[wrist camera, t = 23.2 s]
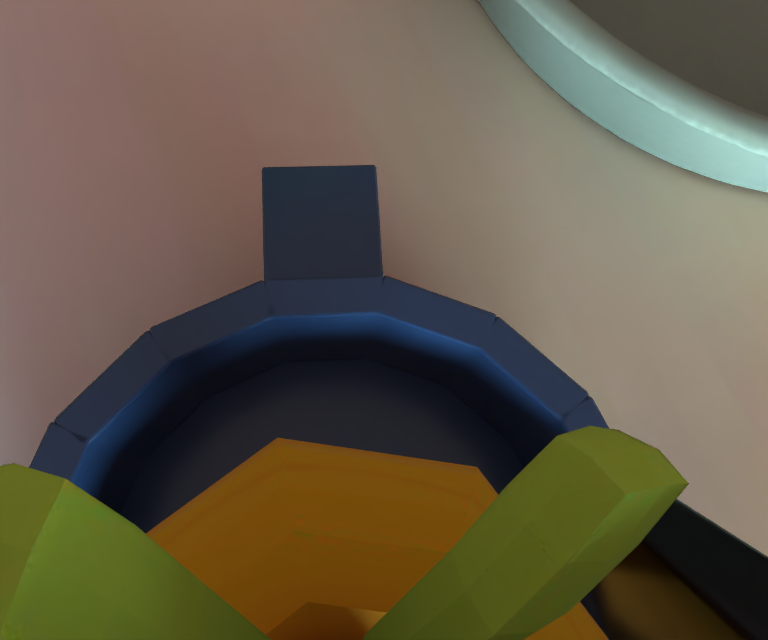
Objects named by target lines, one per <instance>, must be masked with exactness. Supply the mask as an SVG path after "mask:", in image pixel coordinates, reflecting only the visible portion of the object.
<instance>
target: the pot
mask: <svg viewBox="0 0 768 640" xmlns="http://www.w3.org/2000/svg"><path fill="white" fill-rule="evenodd" d="M262 203H263V256H264V281H259V282H256V283H254V284H252V285H249V286H247V287H244V288H242V289H240V290H237V291H235V292H233V293H230V294H228V295H226V296H223V297H221V298H219V299H216V300H214V301H212V302H209V303H207V304H205V305H202V306H200V307H198V308H195V309H193V310H190V311H188V312H186V313H183V314H181V315H179V316H176V317H174V318H172V319H169V320H167V321H165V322H162V323H160V324H158V325H155V326H153V327H151V328H150V331H147V332H145V333H144V334H143V335H141V336H140V337H139V338H138V339H137V340H136V341H135V342H134V343H133V344H132V345H131V346H130V347H129V348H128V349H127V350H126V351H125V352H124V353H123V354H122V355H121V356H120V357H119V358H118V359H116V360H115V361H114V362H113V363H112V364H111V365H110V366H109V367H108V368H107V369H106V370H105V371H104V372H103V373H102V374H101V375H100V376H99V377H98V378H97V379H96V380H95V381H94V382H93V383H92V384H90V385H89V386H88V387H87V388H86V389H85V390H84V391H83V392H82V393H81V394H80V395H79V396H78V397H77V398H76V399H75V400H74V401H73V402H72V403H71V404H70V405H69V406H68V407H67V408H65V409H64V410H63V411H62V412H61V413H60V414H59V415H58V416H57V417H56V419H55V420H54V422H51V423H50V425H49V427H48V429H47V431H46V433H45V435H44V437H43V439H42V441H41V443H40V445H39V448H38V450H37V452H36V454H35V456H34V458H33V460H32V462H31V464H30V466H29V468H32V469H35V470H38V471H42V472H45V473H48V474H52V475H55V476H58V477H62V478H65V479H67V480H68V481H70V482H71V483H73V484H74V485H76V486H77V487H79V488H80V489H82V490H83V491H85V492H86V493H88V494H89V495H91V496H92V497H94V498H95V499H97V500H98V501H100V502H101V503H103V504H104V505H106V506H107V507H109V508H110V509H112V510H113V511H115V512H116V513H118V514H119V515H121V516H122V517H124V518H125V519H127V520H129V521H130V522H132V523H133V524H135V525H136V526H137V527H138V528H139V529H141V530H142V531H143V532H144V533H145V534H146V533H147V532H149V531H150V530H151V529H153V528H154V527H155V526H157V525H158V524H160V523H161V522H162V521H164V520H165V519H166V518H168V517H169V516H171V515H172V514H173V513H175V512H176V511H177V510H179V509H180V508H182V507H183V506H184V505H186V504H187V503H188V502H190V501H191V500H193V499H194V498H195V497H197V496H198V495H199V494H201V493H202V492H204V491H205V490H206V489H208V488H209V487H210V486H212V485H213V484H214V483H216V482H217V481H219V480H220V479H221V478H223V477H224V476H225V475H227V474H228V473H230V472H231V471H232V470H234V469H235V468H236V467H238V466H239V465H241V464H242V463H243V462H245V461H246V460H247V459H249V458H250V457H252V456H253V455H254V454H256V453H257V452H258V451H260V450H261V449H263V448H264V447H265V446H267V445H268V444H269V443H271V442H272V441H274V440H275V439H276V438H283V439H290V440H297V441H304V442H311V443H318V444H324V445H331V446H338V447H345V448H352V449H358V450H365V451H372V452H379V453H386V454H392V455H399V456H406V457H413V458H420V459H426V460H433V461H440V462H447V463H454V464H460V465H467V466H474V467H478V469H479V470H480V471H481V473H482V474H483V475H484V477H485V478H486V479H487V481H488V482H489V483H490V484H491V486H492V487H493V488H494V490H495V491H496V492H497V494H498V495H499V494H500V493H501V492H502V490H503V489H504V488H505V487H506V486H507V485H508V484H509V483H510V482H511V481H512V480H513V479H514V478H515V477H516V476H517V475H518V474H519V473H520V472H521V471H522V470H523V469H524V468H525V467H526V466H527V465H528V464H529V463H530V462H531V461H532V460H533V459H534V458H535V457H536V456H537V455H538V454H539V453H540V452H541V451H542V450H543V449H544V448H545V447H546V446H547V445H548V444H549V443H550V442H551V441H552V440H553V439H554V438H555V437H556V436H558V435H561V434H564V433H568V432H571V431H574V430H577V429H581V428H584V427H587V426H596V427H602V428H608V429H609V427H608V426H607V424H606V422H605V420H604V418H603V417H602V415H601V413H600V411H599V409H598V408H597V406H596V404H595V402H594V400H593V399H592V398H591V397H590V396H588V393H587V391H586V390H584V389H583V388H582V387H581V386H580V385H578V384H577V383H576V382H575V381H574V380H573V379H571V378H570V377H569V376H568V375H567V374H566V373H564V372H563V371H562V370H561V369H560V368H558V367H557V366H556V365H555V364H554V363H553V362H551V361H550V360H549V359H548V358H547V357H546V356H544V355H543V354H542V353H541V352H540V351H538V350H537V349H536V348H535V347H534V346H533V345H531V344H530V343H529V342H528V341H527V340H526V339H524V338H523V337H522V336H521V335H520V334H519V333H517V332H516V331H515V330H514V329H513V328H511V327H510V326H509V325H508V324H507V323H506V322H504V321H503V320H502V319H501V318H499V317H496V315H495V314H494V313H491V312H488V311H485V310H482V309H479V308H477V307H474V306H471V305H468V304H465V303H462V302H460V301H457V300H454V299H451V298H448V297H445V296H442V295H440V294H437V293H434V292H431V291H428V290H425V289H422V288H420V287H417V286H414V285H411V284H408V283H405V282H402V281H400V280H397V279H394V278H391V277H388V276H384V277H383V266H382V250H381V235H380V219H379V204H378V188H377V173H376V166H375V165H355V166H307V167H264V168H263V169H262ZM580 602H581V604H582V605H583V606H584V607H585V609H586V610H587V611H588V613H589V614H590V615H591V617H592V618H593V619H594V621H595V622H596V623H597V625H598V626H599V627H600V628H601V630H602V631H603V632H604V634H605V635H606V636H607V638H608V639H609V640H610V638H609V636H608V634H607V631H606V629H605V627H604V625H603V623H602V620H601V618H600V616H599V613H598V610H597V608H596V605H595V602H594V600H593V597H592V594H591V591H590V592H589V593H588V594H587V595H586V596H585V597H584V598H583V599H582V600H581V601H580Z"/></svg>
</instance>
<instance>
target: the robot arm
mask: <svg viewBox="0 0 768 640" xmlns="http://www.w3.org/2000/svg"><path fill="white" fill-rule="evenodd" d="M591 594H592V597H593V600H594V602H595V605H596V608H597V610H598V613H599V616H600V618H601V620H602V623H603V625H604V627H605V629H606V631H607V634H608V636H609V638H610V640H768V557H767V556H766V555H764V554H763V553H761V552H759V551H758V550H756V549H755V548H753V547H751V546H750V545H748V544H747V543H745V542H744V541H742V540H740V539H739V538H737V537H736V536H734V535H733V534H731V533H729V532H728V531H726V530H725V529H723V528H722V527H720V526H718V525H717V524H715V523H714V522H712V521H711V520H709V519H707V518H706V517H704V516H703V515H701V514H700V513H698V512H696V511H695V510H693V509H692V508H690V507H688V506H687V505H685V504H684V503H682V502H681V501H679V500H677V499H676V500H675V501H674V502H673V503H672V505H671V506H670V507H669V508H668V510H667V511H666V512H665V513H664V514H663V516H662V517H661V518H660V519H659V521H658V522H657V523H656V524H655V525H654V527H653V528H652V529H651V530H650V532H649V533H648V534H647V535H646V536H645V538H644V539H643V540H642V541H641V542H640V544H639V545H638V546H637V547H636V548H635V549H634V550H633V551H632V552H631V553H629V554H628V555H627V556H626V557H625V558H624V559H623V560H622V561H621V562H620V563H619V564H618V565H617V566H616V567H615V568H614V569H613V570H612V571H611V572H610V573H609V574H608V575H607V576H606V577H604V578H603V579H602V580H601V581H600V582H599V583H598V584H597V585H596V586H595V587H594V588H593V589H592V590H591Z"/></svg>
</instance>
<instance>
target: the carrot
mask: <svg viewBox="0 0 768 640" xmlns="http://www.w3.org/2000/svg"><path fill="white" fill-rule="evenodd" d="M688 484H689V483H688V482H687V481H686V480H685V479H684V478H683V476H682V475H681V474H680V473H679V472H678V471H677V470H676V468H675V467H674V466H673V465H672V464H671V463H670V462H669V460H668V459H667V458H666V457H665V456H664V455H663V454H662V452H661V451H660V450H658V449H656V448H654V447H652V446H650V445H648V444H646V443H644V442H642V441H640V440H638V439H636V438H634V437H631V436H629V435H627V434H625V433H623V432H621V431H619V430H614V429H608V428H602V427H596V426H587V427H584V428H581V429H577V430H574V431H571V432H568V433H564V434H561V435H558V436H556V437H555V438H554V439H553V440H552V441H551V442H550V443H549V444H548V445H547V446H546V447H545V448H544V449H543V450H542V451H541V452H540V453H539V454H538V455H537V456H536V457H535V458H534V459H533V460H532V461H531V462H530V463H529V464H528V465H527V466H526V467H525V468H524V469H523V470H522V471H521V472H520V473H519V474H518V475H517V476H516V477H515V478H514V479H513V480H512V481H511V482H510V483H509V484H508V485H507V486H506V487H505V488H504V489H503V490H502V492H501V493H500V494H499V495H498V494H497V492H496V491H495V490H494V488H493V487H492V486H491V484H490V483H489V482H488V481H487V479H486V478H485V477H484V475H483V474H482V473H481V471H480V470H479V469H478V467H474V466H467V465H460V464H454V463H447V462H440V461H433V460H426V459H420V458H413V457H406V456H399V455H392V454H386V453H379V452H372V451H365V450H358V449H352V448H345V447H338V446H331V445H324V444H318V443H311V442H304V441H297V440H290V439H283V438H276V439H275V440H274V441H272V442H271V443H269V444H268V445H267V446H265V447H264V448H263V449H261V450H260V451H258V452H257V453H256V454H254V455H253V456H252V457H250V458H249V459H247V460H246V461H245V462H243V463H242V464H241V465H239V466H238V467H236V468H235V469H234V470H232V471H231V472H230V473H228V474H227V475H225V476H224V477H223V478H221V479H220V480H219V481H217V482H216V483H214V484H213V485H212V486H210V487H209V488H208V489H206V490H205V491H204V492H202V493H201V494H199V495H198V496H197V497H195V498H194V499H193V500H191V501H190V502H188V503H187V504H186V505H184V506H183V507H182V508H180V509H179V510H177V511H176V512H175V513H173V514H172V515H171V516H169V517H168V518H166V519H165V520H164V521H162V522H161V523H160V524H158V525H157V526H155V527H154V528H153V529H151V530H150V531H149V532H147V533H146V534H145V533H144V532H143V531H142V530H141V529H139V528H138V527H137V526H136V525H135V524H133V523H132V522H130V521H129V520H127V519H125V518H124V517H122V516H121V515H119V514H118V513H116V512H115V511H113V510H112V509H110V508H109V507H107V506H106V505H104V504H103V503H101V502H100V501H98V500H97V499H95V498H94V497H92V496H91V495H89V494H88V493H86V492H85V491H83V490H82V489H80V488H79V487H77V486H76V485H74V484H73V483H71V482H70V481H68V480H67V479H65V478H62V477H58V476H55V475H52V474H48V473H45V472H42V471H38V470H35V469H32V468H28V467H25V466H22V465H18V464H15V463H13V464H7V465H2V466H0V640H609V639H608V638H607V636H606V635H605V634H604V632H603V631H602V630H601V628H600V627H599V626H598V625H597V623H596V622H595V621H594V619H593V618H592V617H591V615H590V614H589V613H588V611H587V610H586V609H585V607H584V606H583V605H582V604H581V602H580V601H581V600H582V599H583V598H584V597H585V596H586V595H587V594H588V593H589V592H590V591H591V590H592V589H593V588H594V587H595V586H596V585H597V584H598V583H599V582H600V581H601V580H602V579H603V578H604V577H606V576H607V575H608V574H609V573H610V572H611V571H612V570H613V569H614V568H615V567H616V566H617V565H618V564H619V563H620V562H621V561H622V560H623V559H624V558H625V557H626V556H627V555H628V554H629V553H631V552H632V551H633V550H634V549H635V548H636V547H637V546H638V545H639V544H640V542H641V541H642V540H643V539H644V538H645V536H646V535H647V534H648V533H649V532H650V530H651V529H652V528H653V527H654V525H655V524H656V523H657V522H658V521H659V519H660V518H661V517H662V516H663V514H664V513H665V512H666V511H667V510H668V508H669V507H670V506H671V505H672V503H673V502H674V501H675V500H676V499H677V497H678V496H679V495H680V494H681V493H682V491H683V490H684V489H685V488H686V486H687V485H688Z"/></svg>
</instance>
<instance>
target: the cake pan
mask: <svg viewBox="0 0 768 640" xmlns="http://www.w3.org/2000/svg"><path fill="white" fill-rule="evenodd" d="M478 1H479V3H480V4H481V6H482V7H483V9H484V10H485V12H486V13H487V15H488V16H489V18H490V20H491V21H492V22H493V24H494V25H495V26H496V28H497V29H498V30H499V32H500V33H501V34H502V35H503V37H504V38H505V39H506V40H507V41H508V43H509V44H510V45H511V46H512V48H513V49H514V50H515V51H516V53H517V54H518V55H519V56H520V57H521V58H522V59H523V60H524V61H525V63H526V64H527V65H528V66H529V67H530V68H531V69H532V70H533V71H534V72H535V73H536V74H537V75H538V76H539V77H540V78H542V79H543V80H544V81H545V82H546V83H547V84H548V85H549V86H550V87H551V88H553V89H554V90H555V91H556V92H557V93H558V94H559V95H560V96H561V97H563V98H564V99H565V100H566V101H567V102H569V103H570V104H571V105H573V106H574V107H575V108H577V109H578V110H579V111H581V112H582V113H584V114H585V115H586V116H588V117H589V118H591V119H592V120H594V121H595V122H597V123H598V124H600V125H601V126H603V127H604V128H606V129H607V130H609V131H611V132H612V133H614V134H615V135H617V136H618V137H620V138H621V139H623V140H625V141H627V142H628V143H630V144H632V145H634V146H636V147H638V148H640V149H642V150H644V151H646V152H648V153H650V154H652V155H654V156H656V157H658V158H661V159H663V160H665V161H667V162H669V163H671V164H674V165H676V166H679V167H681V168H684V169H687V170H690V171H693V172H695V173H698V174H701V175H704V176H707V177H710V178H712V179H715V180H718V181H722V182H725V183H729V184H733V185H737V186H741V187H745V188H750V189H754V190H759V191H763V192H767V193H768V0H478Z"/></svg>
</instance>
